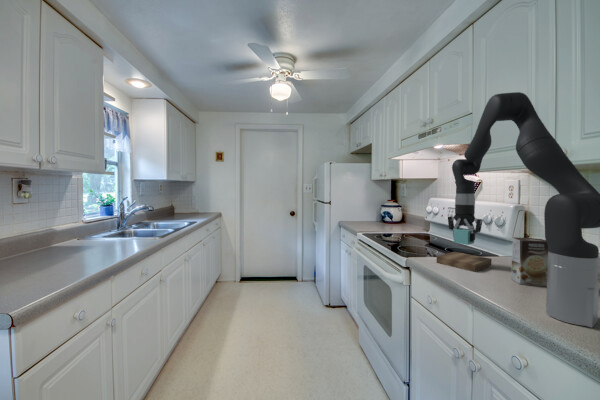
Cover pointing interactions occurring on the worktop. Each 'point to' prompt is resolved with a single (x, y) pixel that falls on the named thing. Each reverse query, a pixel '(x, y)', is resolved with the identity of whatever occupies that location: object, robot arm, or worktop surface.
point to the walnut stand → (464, 261)
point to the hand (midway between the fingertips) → (463, 240)
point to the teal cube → (462, 236)
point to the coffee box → (529, 261)
